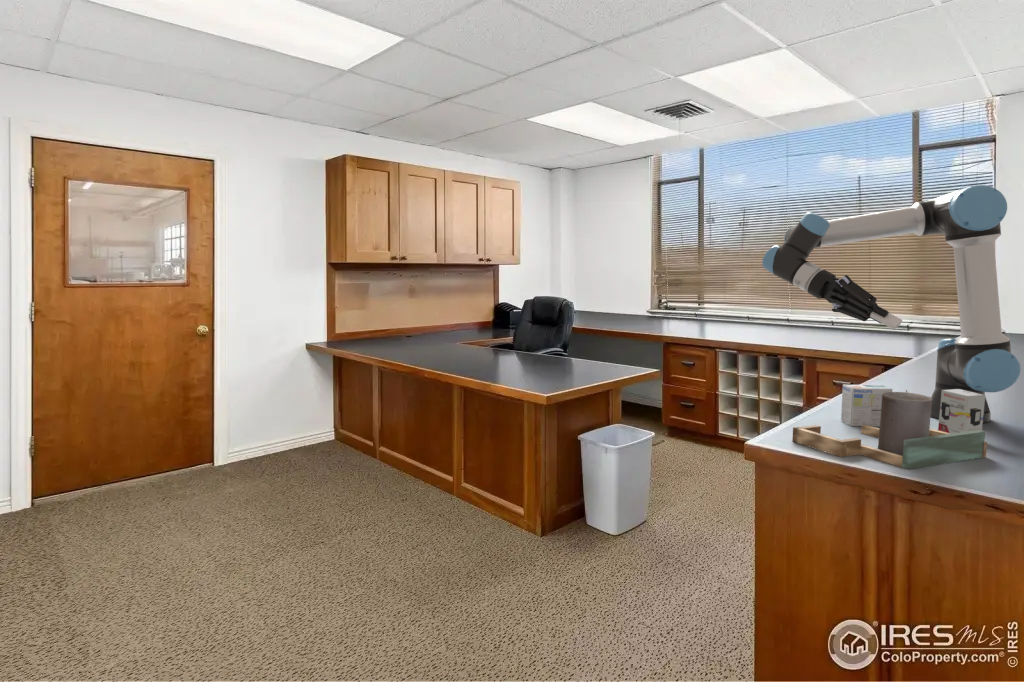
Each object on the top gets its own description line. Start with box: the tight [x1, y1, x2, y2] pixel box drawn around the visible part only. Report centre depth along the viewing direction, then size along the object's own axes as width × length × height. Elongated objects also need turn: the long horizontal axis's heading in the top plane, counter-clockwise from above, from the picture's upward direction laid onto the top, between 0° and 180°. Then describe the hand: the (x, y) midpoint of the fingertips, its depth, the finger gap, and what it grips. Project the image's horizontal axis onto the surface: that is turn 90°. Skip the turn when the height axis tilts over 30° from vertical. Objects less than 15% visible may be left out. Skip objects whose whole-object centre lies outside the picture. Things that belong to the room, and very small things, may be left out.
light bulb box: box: [840, 384, 893, 428], centre depth 166 cm, size 11×7×11 cm, turn 84°
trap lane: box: [791, 424, 988, 470], centre depth 142 cm, size 26×31×6 cm
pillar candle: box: [877, 390, 932, 456], centre depth 137 cm, size 10×10×15 cm
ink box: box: [937, 389, 986, 434], centre depth 152 cm, size 9×5×12 cm, turn 5°
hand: (898, 324), depth 151 cm, fingers closed
